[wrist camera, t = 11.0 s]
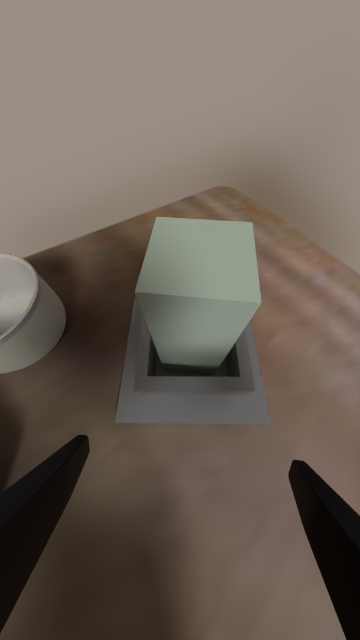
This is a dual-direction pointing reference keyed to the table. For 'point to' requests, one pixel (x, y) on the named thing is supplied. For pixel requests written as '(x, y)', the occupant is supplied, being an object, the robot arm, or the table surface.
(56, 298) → the teacup
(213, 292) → the sage block
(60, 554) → the table surface
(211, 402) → the grey square socket base
